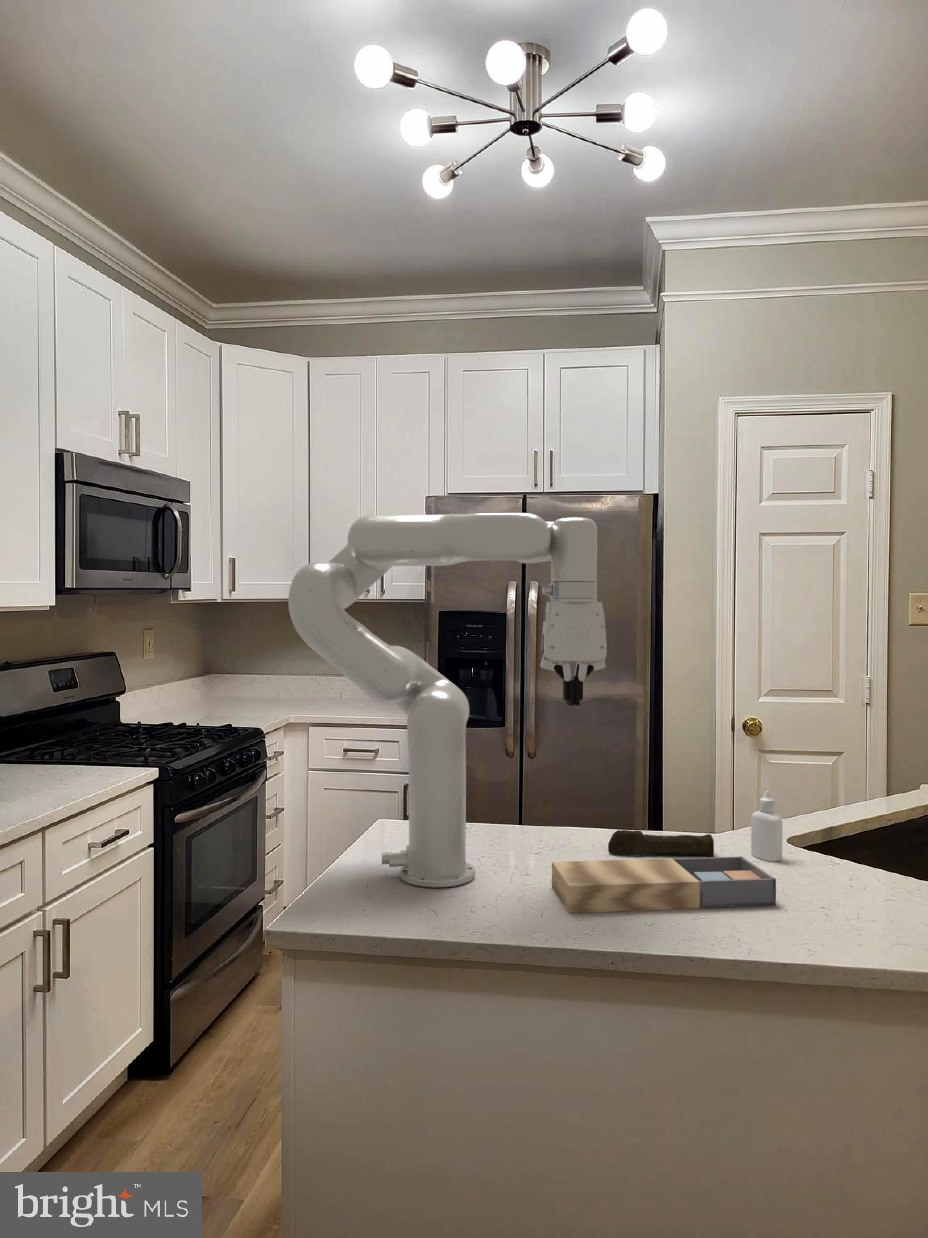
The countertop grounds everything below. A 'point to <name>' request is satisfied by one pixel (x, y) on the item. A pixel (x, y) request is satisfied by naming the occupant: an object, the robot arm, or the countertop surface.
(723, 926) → the countertop surface
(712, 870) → the tray
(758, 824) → the eye dropper bottle
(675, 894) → the oak board
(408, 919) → the countertop surface
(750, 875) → the terracotta tile
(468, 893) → the countertop surface
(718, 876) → the pale blue tile
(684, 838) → the hand tool
